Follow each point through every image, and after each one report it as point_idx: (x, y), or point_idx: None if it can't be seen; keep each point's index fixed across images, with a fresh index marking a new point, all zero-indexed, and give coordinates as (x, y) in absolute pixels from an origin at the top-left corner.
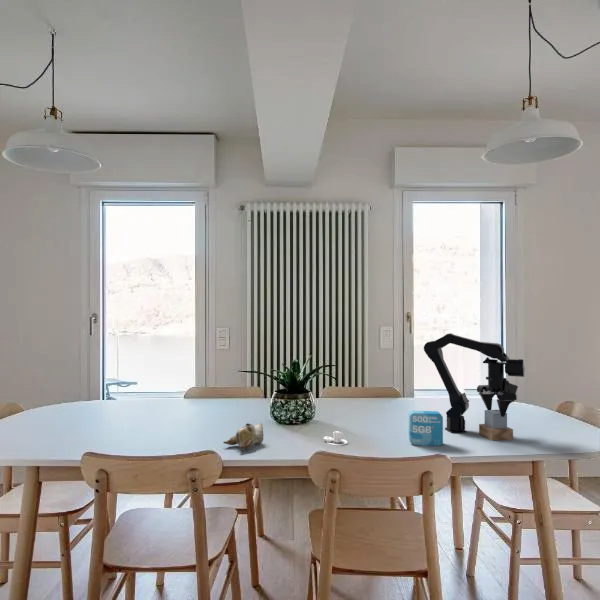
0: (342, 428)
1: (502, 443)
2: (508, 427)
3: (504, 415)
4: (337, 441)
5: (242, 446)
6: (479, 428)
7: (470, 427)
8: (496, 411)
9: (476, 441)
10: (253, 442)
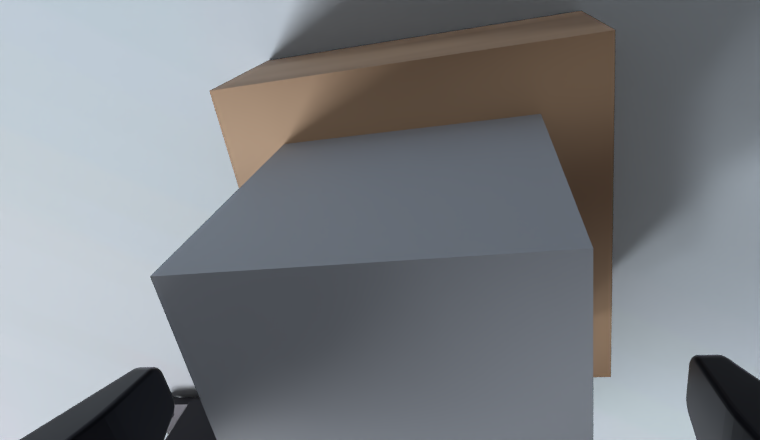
0: None
1: (723, 233)
2: (483, 58)
3: (748, 381)
4: None
5: None
6: None
7: (87, 281)
8: (375, 409)
9: (595, 435)
10: None
